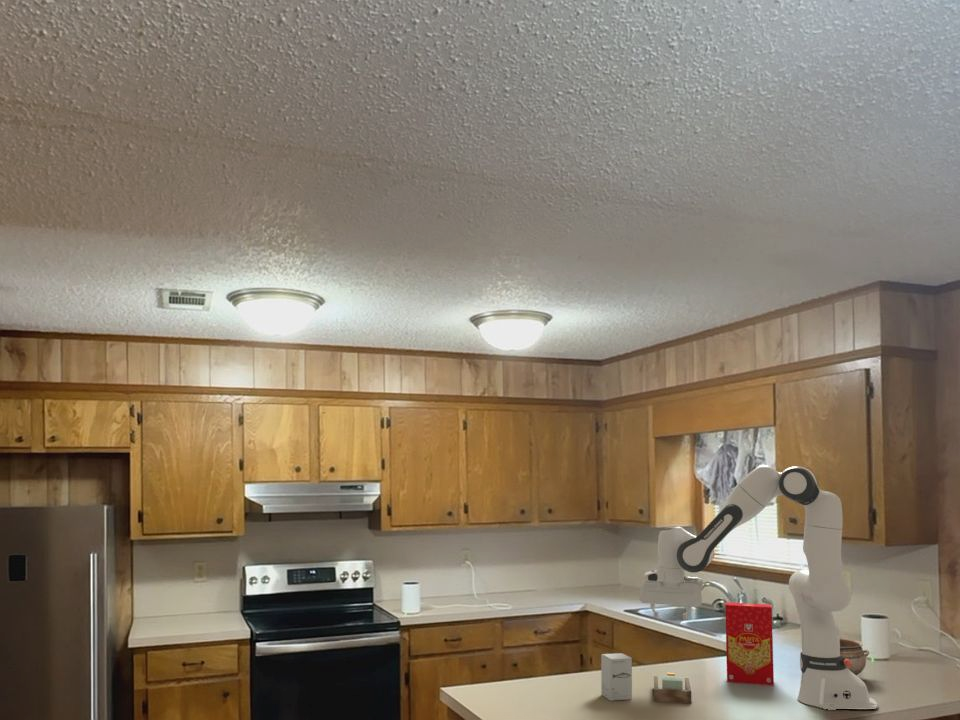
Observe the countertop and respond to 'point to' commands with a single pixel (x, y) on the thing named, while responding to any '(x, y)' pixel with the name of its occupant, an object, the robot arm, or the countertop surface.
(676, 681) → the block
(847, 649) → the cooking pot
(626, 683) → the supplement box
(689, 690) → the lane
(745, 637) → the food packaging
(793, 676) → the countertop surface
